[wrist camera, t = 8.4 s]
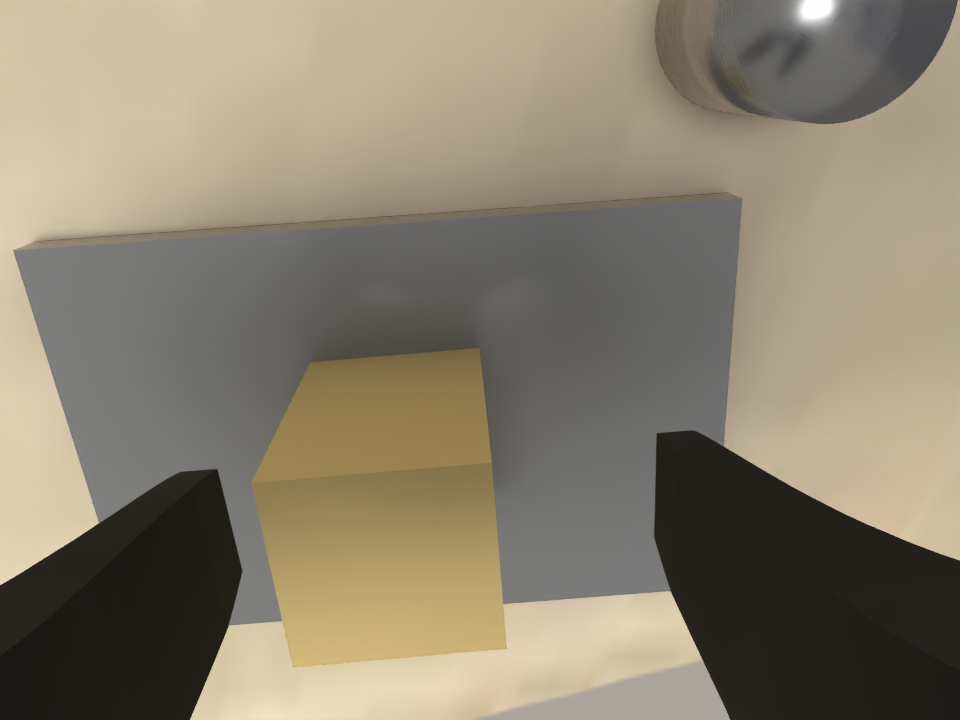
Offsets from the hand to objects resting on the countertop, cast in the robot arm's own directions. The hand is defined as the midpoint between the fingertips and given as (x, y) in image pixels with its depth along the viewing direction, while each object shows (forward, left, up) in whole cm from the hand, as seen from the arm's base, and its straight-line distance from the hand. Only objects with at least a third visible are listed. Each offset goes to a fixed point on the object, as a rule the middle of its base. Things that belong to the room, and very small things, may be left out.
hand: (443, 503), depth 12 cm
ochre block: (+1, +3, -8) cm, 8 cm away
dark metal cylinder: (-8, -7, -9) cm, 14 cm away
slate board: (+1, +3, -9) cm, 9 cm away
